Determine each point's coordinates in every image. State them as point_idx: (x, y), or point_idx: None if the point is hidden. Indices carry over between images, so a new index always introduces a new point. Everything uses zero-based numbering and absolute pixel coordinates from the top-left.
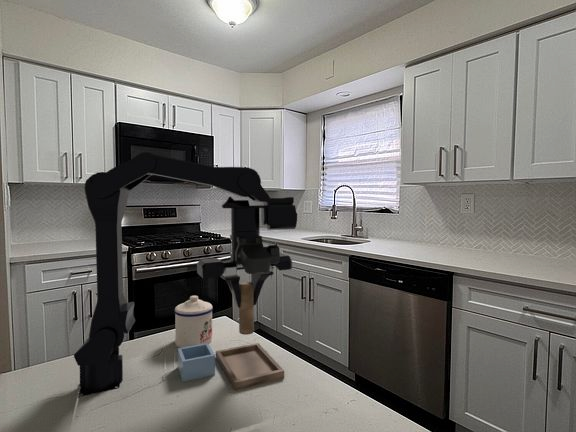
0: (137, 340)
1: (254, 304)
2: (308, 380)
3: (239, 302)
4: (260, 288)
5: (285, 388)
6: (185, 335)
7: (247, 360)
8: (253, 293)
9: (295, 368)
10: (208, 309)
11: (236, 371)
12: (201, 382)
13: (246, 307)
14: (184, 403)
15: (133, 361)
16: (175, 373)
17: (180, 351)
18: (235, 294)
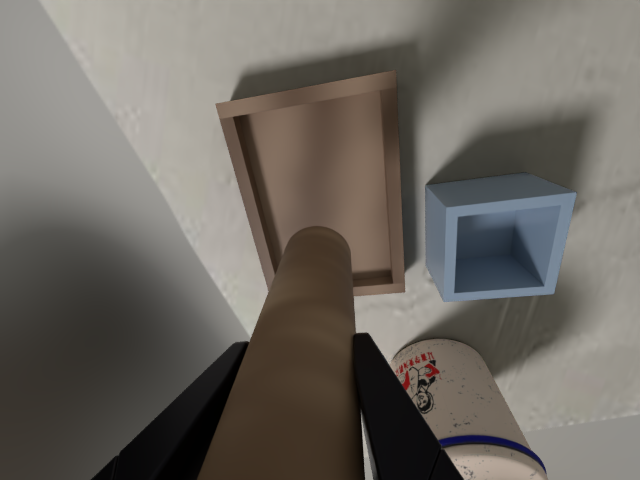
0: (565, 421)
1: (243, 344)
2: (154, 83)
3: (364, 359)
4: (106, 473)
5: (231, 55)
6: (484, 379)
7: None
8: (216, 430)
9: (185, 166)
10: None
11: (364, 176)
12: (469, 170)
13: (310, 311)
14: (552, 62)
15: (610, 331)
16: None
17: (553, 271)
18: (427, 433)
